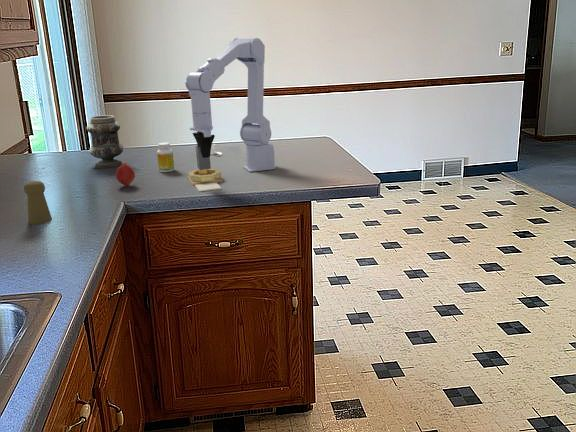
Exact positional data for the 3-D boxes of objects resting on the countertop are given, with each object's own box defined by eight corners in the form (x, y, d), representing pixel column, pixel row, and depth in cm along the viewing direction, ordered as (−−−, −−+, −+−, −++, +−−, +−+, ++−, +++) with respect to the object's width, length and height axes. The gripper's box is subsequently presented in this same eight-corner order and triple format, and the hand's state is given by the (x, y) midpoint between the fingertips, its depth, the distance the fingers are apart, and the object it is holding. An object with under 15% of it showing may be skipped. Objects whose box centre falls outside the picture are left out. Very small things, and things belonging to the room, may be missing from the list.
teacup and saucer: (202, 153, 238) (201, 143, 237) (222, 152, 239) (221, 142, 237) (201, 158, 230) (200, 147, 228) (222, 157, 230) (221, 146, 229)
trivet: (216, 183, 193) (216, 182, 192) (221, 189, 186) (221, 187, 186) (195, 186, 190) (194, 184, 190) (199, 191, 184) (199, 190, 184)
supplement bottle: (170, 172, 208) (168, 145, 205) (156, 172, 209) (153, 145, 206) (176, 168, 213) (174, 141, 210) (162, 168, 214) (159, 141, 211)
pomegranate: (119, 189, 190) (116, 165, 187) (115, 185, 195) (112, 161, 192) (137, 186, 192) (134, 162, 190) (133, 182, 197) (130, 159, 194)
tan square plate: (216, 174, 203) (216, 172, 203) (223, 181, 194) (223, 179, 194) (187, 178, 200) (187, 175, 200) (192, 185, 191) (192, 183, 191)
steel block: (197, 167, 188) (195, 145, 186) (208, 166, 189) (206, 144, 187) (199, 170, 185) (197, 148, 183) (210, 168, 186) (208, 146, 184)
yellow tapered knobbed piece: (32, 217, 165) (25, 179, 162) (54, 216, 166) (48, 178, 162) (25, 225, 160) (17, 185, 156) (48, 223, 160) (41, 184, 156)
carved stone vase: (124, 159, 230) (118, 112, 224) (126, 166, 219) (120, 117, 213) (91, 162, 226) (84, 115, 221) (91, 170, 216) (84, 120, 210)
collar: (216, 172, 203) (216, 167, 202) (223, 179, 194) (222, 174, 193) (187, 175, 200) (186, 170, 199) (192, 183, 191) (192, 177, 190)
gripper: (184, 110, 187) (188, 152, 191) (192, 116, 174) (196, 162, 178) (206, 108, 189) (210, 150, 193) (216, 114, 176) (219, 159, 180)
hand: (205, 156), depth 186 cm, fingers closed on steel block, 3 cm apart
